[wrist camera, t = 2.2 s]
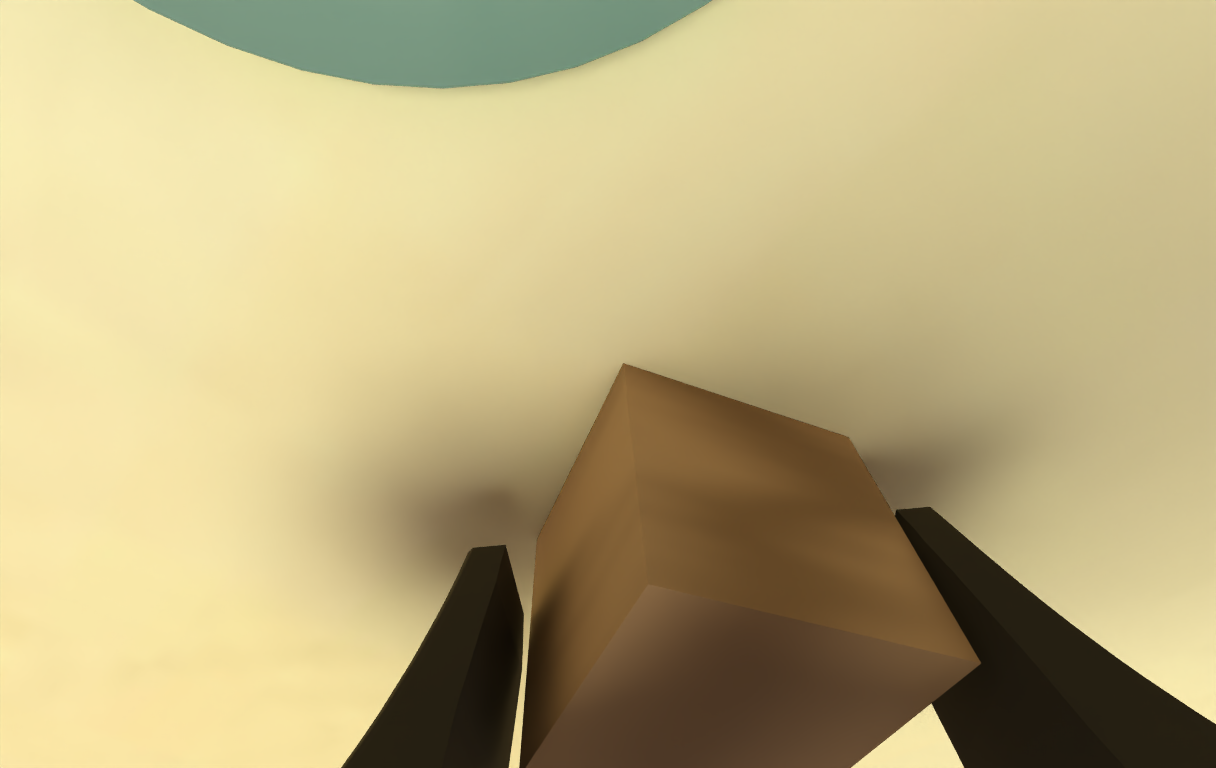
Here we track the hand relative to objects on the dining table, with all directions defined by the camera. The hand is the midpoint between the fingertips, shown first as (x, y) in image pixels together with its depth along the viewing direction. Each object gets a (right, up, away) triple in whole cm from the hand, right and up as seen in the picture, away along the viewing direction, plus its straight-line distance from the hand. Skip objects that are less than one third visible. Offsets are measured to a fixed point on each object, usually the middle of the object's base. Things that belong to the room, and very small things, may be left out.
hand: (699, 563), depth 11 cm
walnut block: (0, +1, +2) cm, 2 cm away
